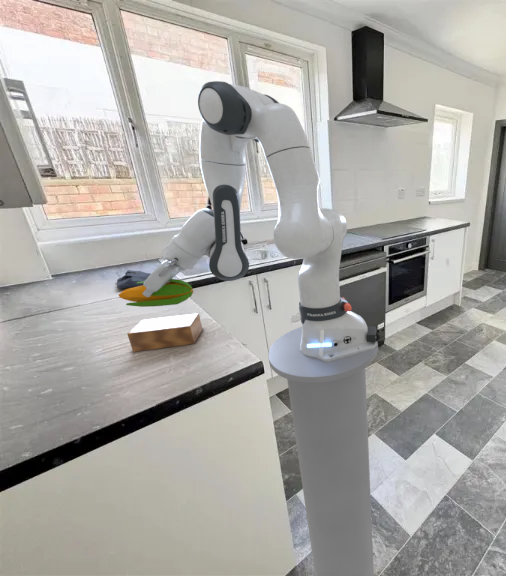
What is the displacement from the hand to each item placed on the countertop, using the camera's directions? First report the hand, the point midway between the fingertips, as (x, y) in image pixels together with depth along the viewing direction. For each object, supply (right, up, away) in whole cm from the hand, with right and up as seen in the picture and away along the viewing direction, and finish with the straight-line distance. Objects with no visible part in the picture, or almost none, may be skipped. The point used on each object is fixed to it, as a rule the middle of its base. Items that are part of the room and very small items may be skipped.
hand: (151, 290), depth 90 cm
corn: (+1, -4, +2) cm, 5 cm away
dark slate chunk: (-55, +3, +62) cm, 83 cm away
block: (+1, -16, +7) cm, 17 cm away
